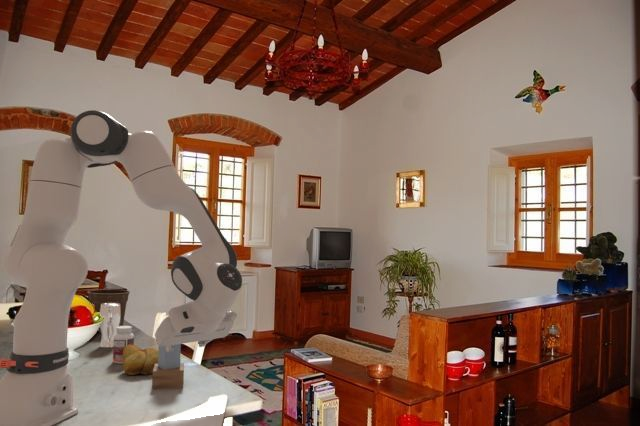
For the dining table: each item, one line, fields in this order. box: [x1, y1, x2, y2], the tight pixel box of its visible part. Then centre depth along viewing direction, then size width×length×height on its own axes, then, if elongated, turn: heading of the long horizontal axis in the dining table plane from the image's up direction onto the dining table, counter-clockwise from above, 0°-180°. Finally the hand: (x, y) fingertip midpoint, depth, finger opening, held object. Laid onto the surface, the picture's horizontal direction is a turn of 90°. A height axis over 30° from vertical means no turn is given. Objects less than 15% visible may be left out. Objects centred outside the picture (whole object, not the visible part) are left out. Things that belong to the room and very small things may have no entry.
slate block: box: [158, 344, 182, 370], centre depth 144 cm, size 4×4×9 cm
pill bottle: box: [112, 325, 135, 365], centre depth 166 cm, size 6×6×11 cm
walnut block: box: [151, 362, 185, 390], centre depth 144 cm, size 8×8×5 cm
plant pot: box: [87, 288, 131, 334], centre depth 214 cm, size 16×16×16 cm
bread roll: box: [122, 344, 158, 376], centre depth 155 cm, size 13×10×8 cm
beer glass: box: [99, 303, 120, 349], centre depth 187 cm, size 7×7×15 cm
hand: (185, 347), depth 138 cm, fingers open, 8 cm apart
